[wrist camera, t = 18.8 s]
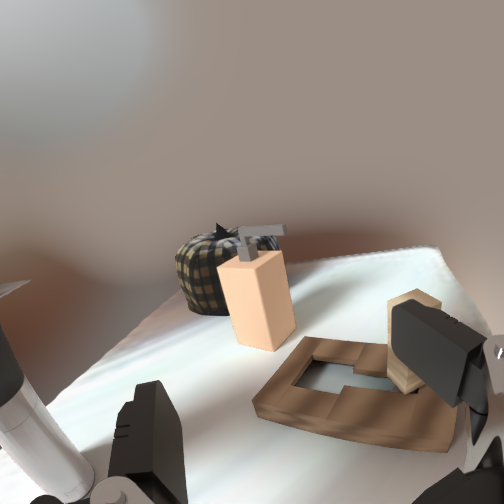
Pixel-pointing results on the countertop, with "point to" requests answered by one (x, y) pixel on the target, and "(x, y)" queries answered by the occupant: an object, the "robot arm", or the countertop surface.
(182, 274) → the decorative pumpkin
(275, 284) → the soap dispenser
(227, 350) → the countertop surface
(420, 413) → the walnut keyhole board
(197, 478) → the countertop surface
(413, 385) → the birch peg
